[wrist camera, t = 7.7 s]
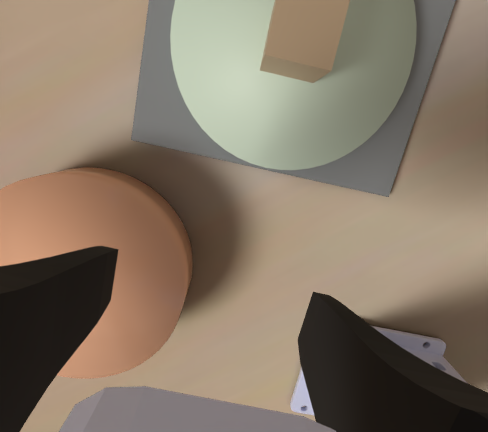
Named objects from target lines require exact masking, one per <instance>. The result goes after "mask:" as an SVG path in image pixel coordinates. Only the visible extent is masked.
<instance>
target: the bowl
mask: <svg viewBox="0 0 488 432" xmlns="http://www.w3.org/2000/svg"><path fill="white" fill-rule="evenodd" d="M94 246H105V247H110V248H114V249H119V250H118V257H117V263H116V270H115V276H114V283H113V289H112V296H111V301H110V303H109V304H108V306H107V308H106V310H105V312H104V313H103V315H102V317H101V318H100V320H99V322H98V323H97V325H96V326H95V327H94V328H93V330H92V331H91V332H90V334H89V335H88V336H87V337H86V339H85V340H84V341H83V342H82V344H81V345H80V346H79V348H78V349H77V350H76V351H75V353H74V354H73V355H72V356H71V358H70V359H69V360H68V361H67V363H66V364H65V365H64V366H63V368H62V369H61V370H60V371H59V373H58V374H57V375H58V376H63V377H71V378H99V377H106V376H111V375H115V374H119V373H122V372H125V371H127V370H130V369H132V368H134V367H136V366H138V365H140V364H141V363H143V362H144V361H146V360H147V359H149V358H150V357H152V356H153V355H154V354H155V353H156V352H157V351H158V350H159V349H160V348H161V347H162V346H163V345H164V344H165V342H166V341H167V340H168V338H169V337H170V335H171V334H172V332H173V330H174V329H175V326H176V324H177V322H178V319H179V317H180V314H181V310H182V307H183V304H184V301H185V298H186V295H187V292H188V289H189V285H190V282H191V277H192V269H193V257H192V250H191V244H190V241H189V238H188V235H187V232H186V230H185V228H184V225H183V223H182V221H181V220H180V218H179V217H178V215H177V213H176V212H175V211H174V209H173V208H172V207H171V206H170V205H169V203H168V202H167V201H166V200H165V199H164V198H163V197H162V196H161V195H160V194H159V193H157V192H156V191H155V190H153V189H152V188H151V187H149V186H148V185H146V184H145V183H143V182H141V181H139V180H138V179H136V178H133V177H131V176H129V175H126V174H124V173H121V172H117V171H113V170H109V169H103V168H89V167H83V168H74V169H68V170H63V171H59V172H54V173H50V174H45V175H40V176H36V177H32V178H28V179H24V180H20V181H17V182H15V183H13V184H10V185H8V186H6V187H4V188H2V189H1V190H0V266H5V265H12V264H18V263H23V262H28V261H33V260H38V259H42V258H47V257H52V256H56V255H60V254H64V253H68V252H72V251H76V250H80V249H85V248H89V247H94Z"/></svg>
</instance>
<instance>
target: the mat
mask: <svg viewBox="0 0 488 432" xmlns="http://www.w3.org/2000/svg"><path fill="white" fill-rule="evenodd" d="M455 1H456V0H414V4H415V12H416V22H417V28H416V46H415V53H414V60H413V63H412V67H411V71H410V75H409V78H408V80H407V83H406V85H405V88H404V91H403V93H402V95H401V97H400V99H399V100H398V102H397V104H396V106H395V108H394V109H393V111H392V112H391V114H390V115H389V116H388V118H387V119H386V121H385V122H384V123H383V124H382V125H381V127H380V128H379V129H378V130H377V131H376V132H375V133H374V134H373V135H372V136H371V137H370V138H369V139H368V140H367V141H365V142H364V143H363V144H362V145H360V146H359V147H357V148H356V149H355V150H353V151H352V152H350V153H348V154H347V155H345V156H343V157H341V158H339V159H337V160H335V161H332V162H330V163H327V164H325V165H321V166H317V167H313V168H309V169H300V170H277V169H270V168H265V167H261V166H258V165H254V164H251V163H249V162H246V161H244V160H242V159H240V158H237V157H236V156H234V155H233V154H231V153H229V152H228V151H226V150H224V149H223V148H222V147H221V146H219V145H218V144H217V143H216V142H214V141H213V140H212V139H211V138H210V137H209V136H208V135H207V134H206V132H205V131H204V130H203V129H202V128H201V127H200V125H199V124H198V123H197V121H196V120H195V119H194V117H193V116H192V114H191V112H190V111H189V109H188V107H187V105H186V104H185V102H184V99H183V97H182V95H181V92H180V90H179V87H178V84H177V80H176V77H175V73H174V69H173V63H172V57H171V42H170V32H171V20H172V13H173V9H174V4H175V0H149V5H148V13H147V20H146V28H145V36H144V44H143V52H142V59H141V67H140V75H139V83H138V91H137V98H136V106H135V114H134V122H133V130H132V137H131V140H133V141H138V142H143V143H147V144H152V145H156V146H161V147H165V148H170V149H174V150H179V151H183V152H188V153H192V154H197V155H201V156H206V157H210V158H215V159H219V160H224V161H228V162H233V163H237V164H242V165H246V166H251V167H255V168H260V169H264V170H269V171H273V172H278V173H282V174H287V175H292V176H296V177H301V178H305V179H310V180H314V181H319V182H323V183H328V184H332V185H337V186H341V187H346V188H350V189H355V190H359V191H364V192H368V193H373V194H377V195H382V196H386V197H389V194H390V191H391V189H392V186H393V183H394V180H395V177H396V174H397V171H398V168H399V165H400V162H401V159H402V156H403V153H404V150H405V148H406V145H407V142H408V139H409V136H410V133H411V130H412V127H413V124H414V121H415V118H416V115H417V112H418V109H419V106H420V104H421V101H422V98H423V95H424V92H425V89H426V86H427V83H428V80H429V77H430V74H431V71H432V68H433V65H434V63H435V60H436V57H437V54H438V51H439V48H440V45H441V42H442V39H443V36H444V33H445V30H446V27H447V24H448V21H449V19H450V16H451V13H452V10H453V7H454V4H455Z"/></svg>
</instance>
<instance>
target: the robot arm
mask: <svg viewBox="0 0 488 432" xmlns="http://www.w3.org/2000/svg"><path fill="white" fill-rule="evenodd" d="M118 250H119V249H114V248H110V247H105V246H94V247H89V248H85V249H80V250H76V251H72V252H68V253H64V254H60V255H56V256H52V257H47V258H42V259H38V260H33V261H28V262H23V263H18V264H12V265H5V266H0V432H20V430H21V428H22V427H23V425H24V423H25V422H26V420H27V419H28V417H29V415H30V414H31V412H32V411H33V409H34V408H35V406H36V405H37V403H38V401H39V400H40V398H41V397H42V395H43V394H44V392H45V391H46V389H47V388H48V386H49V385H50V383H51V382H52V381H53V379H54V378H55V377H56V375H57V374H58V373H59V371H60V370H61V369H62V368H63V366H64V365H65V364H66V363H67V361H68V360H69V359H70V358H71V356H72V355H73V354H74V353H75V351H76V350H77V349H78V348H79V346H80V345H81V344H82V342H83V341H84V340H85V339H86V337H87V336H88V335H89V334H90V332H91V331H92V330H93V328H94V327H95V326H96V325H97V323H98V322H99V320H100V318H101V317H102V315H103V313H104V312H105V310H106V308H107V306H108V304H109V303H110V301H111V296H112V289H113V283H114V276H115V270H116V263H117V257H118ZM425 342H427V343H426V344H424V343H425ZM423 344H424V345H423ZM298 346H299V355H300V362H301V370H300V373H299V376H298V380H297V383H296V386H295V389H294V392H293V396H292V399H291V402H290V406H291V409H292V410H293V411H294V412H298V413H304V414H310V415H314V416H315V419H316V422H315V421H313V420H311V419H308V418H306V417H304V416H299V415H293V414H288V413H283V412H278V411H272V410H267V409H262V408H256V407H251V406H246V405H241V404H235V403H230V402H225V401H220V400H214V399H209V398H204V397H199V396H193V395H188V394H183V393H177V392H172V391H167V390H162V389H156V388H151V387H146V386H142V387H107V388H104V389H103V390H101V391H99V392H97V393H95V394H94V395H92V396H90V397H88V398H86V399H84V400H83V401H81V402H79V403H77V404H75V406H74V408H73V409H72V411H71V412H70V414H69V416H68V417H67V419H66V421H65V422H64V424H63V426H62V427H61V429H60V430H59V432H488V393H487V392H485V391H483V390H481V389H478V388H476V387H474V386H472V385H470V384H468V383H467V382H466V381H465V380H464V379H463V378H462V377H461V376H460V374H459V373H458V372H457V371H456V370H455V369H454V368H453V367H452V366H451V365H450V363H449V362H448V361H447V360H446V359H445V358H444V357H443V354H444V352H445V349H446V344H445V343H444V342H443V341H442V340H441V339H438V338H433V337H428V336H422V335H417V334H412V333H407V332H402V331H396V330H391V329H386V328H381V327H375V326H371V325H369V324H368V323H367V322H365V321H364V320H363V319H361V318H360V317H359V316H357V315H356V314H355V313H354V312H352V311H351V310H350V309H348V308H347V307H346V306H345V305H343V304H342V303H340V302H339V301H338V300H336V299H335V298H333V297H331V296H329V295H325V294H321V293H316V292H313V294H312V297H311V300H310V303H309V306H308V309H307V312H306V315H305V319H304V322H303V325H302V328H301V331H300V334H299V337H298ZM302 406H305V407H302Z"/></svg>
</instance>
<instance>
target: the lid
mask: <svg viewBox="0 0 488 432" xmlns="http://www.w3.org/2000/svg"><path fill="white" fill-rule="evenodd" d="M416 28H417V22H416V12H415V4H414V0H175V4H174V9H173V13H172V20H171V32H170V42H171V57H172V63H173V69H174V73H175V77H176V80H177V84H178V87H179V90H180V92H181V95H182V97H183V99H184V102H185V104H186V105H187V107H188V109H189V111H190V112H191V114H192V116H193V117H194V119H195V120H196V121H197V123H198V124H199V125H200V127H201V128H202V129H203V130H204V131H205V132H206V134H207V135H208V136H209V137H210V138H211V139H212V140H213V141H214V142H216V143H217V144H218V145H219V146H221V147H222V148H223V149H224V150H226V151H228V152H229V153H231V154H233V155H234V156H236V157H237V158H240V159H242V160H244V161H246V162H249V163H251V164H254V165H258V166H261V167H265V168H270V169H277V170H300V169H309V168H313V167H317V166H321V165H325V164H327V163H330V162H332V161H335V160H337V159H339V158H341V157H343V156H345V155H347V154H348V153H350V152H352V151H353V150H355V149H356V148H357V147H359V146H360V145H362V144H363V143H364V142H365V141H367V140H368V139H369V138H370V137H371V136H372V135H373V134H374V133H375V132H376V131H377V130H378V129H379V128H380V127H381V125H382V124H383V123H384V122H385V121H386V119H387V118H388V116H389V115H390V114H391V112H392V111H393V109H394V108H395V106H396V104H397V102H398V100H399V99H400V97H401V95H402V93H403V91H404V88H405V85H406V83H407V80H408V78H409V75H410V71H411V67H412V63H413V60H414V53H415V46H416Z"/></svg>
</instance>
